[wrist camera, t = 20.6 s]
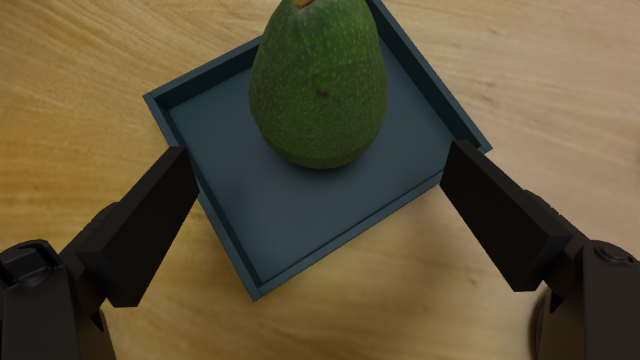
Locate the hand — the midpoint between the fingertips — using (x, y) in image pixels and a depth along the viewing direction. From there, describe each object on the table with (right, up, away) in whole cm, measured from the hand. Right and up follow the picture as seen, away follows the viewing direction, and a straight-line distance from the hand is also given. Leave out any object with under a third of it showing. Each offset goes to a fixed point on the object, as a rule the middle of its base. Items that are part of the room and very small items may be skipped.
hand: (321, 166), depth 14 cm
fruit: (0, +3, +7) cm, 8 cm away
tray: (0, +3, +8) cm, 9 cm away
